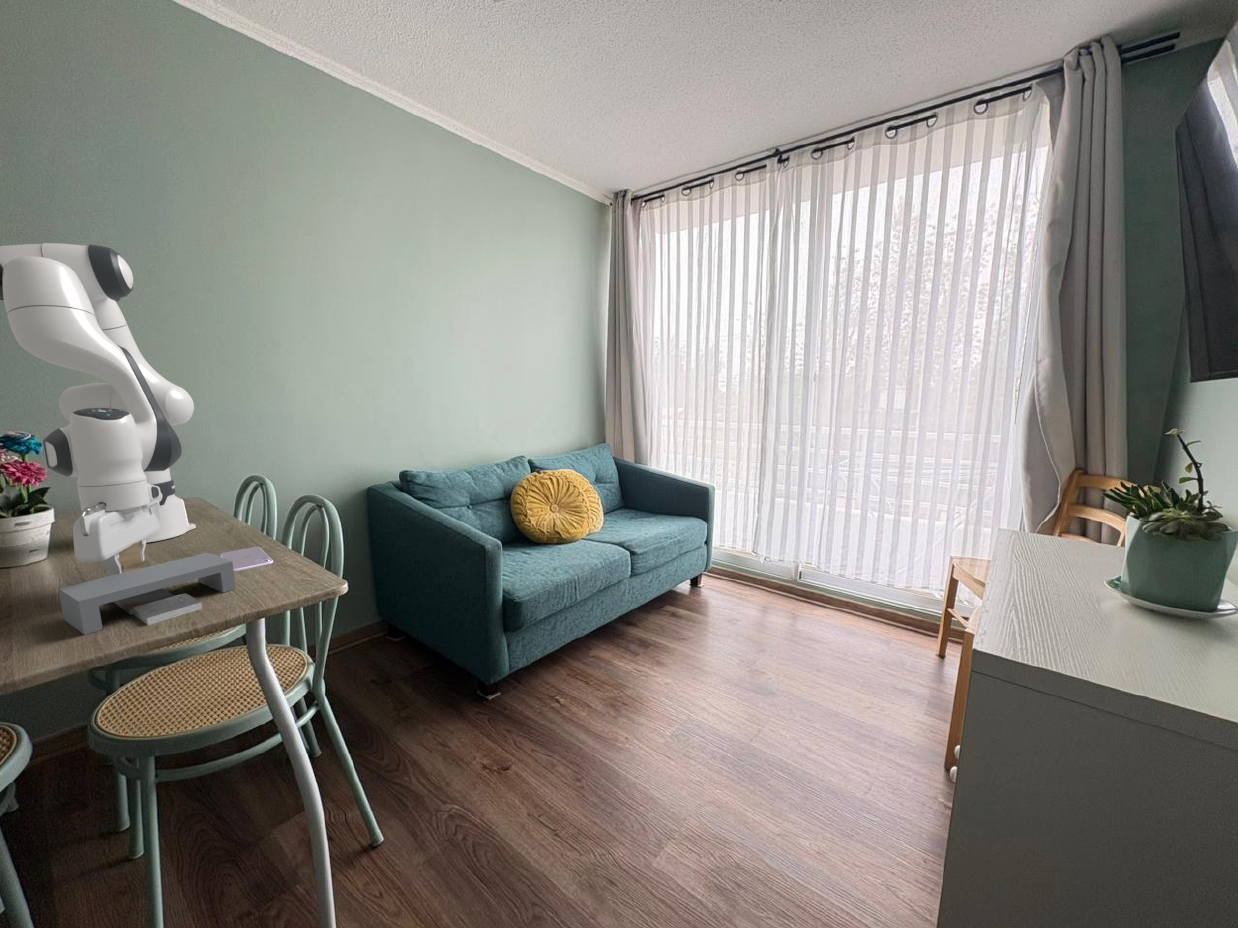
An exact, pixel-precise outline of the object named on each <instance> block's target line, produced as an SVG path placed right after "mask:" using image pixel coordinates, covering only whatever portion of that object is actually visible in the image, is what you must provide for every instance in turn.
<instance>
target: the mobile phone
mask: <svg viewBox="0 0 1238 928" xmlns="http://www.w3.org/2000/svg"><path fill="white" fill-rule="evenodd" d="M219 557H222V558H225V559H228V560H230V561H233V569H234V572H238V571H239V572H240V571H243V570H244V571H245V570H247V569H253V568H257V567H262V566H267V565H271V564H273V563H274V560H273V559H272V558H271V557H270V556H269V555H268V554H267V553H266V552H265V551H264V549H262V547H260V546H252V547H247V548H242V549H237V550H235V549H234V550H231V551H226V552H222V553H221V554H219Z"/></svg>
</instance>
